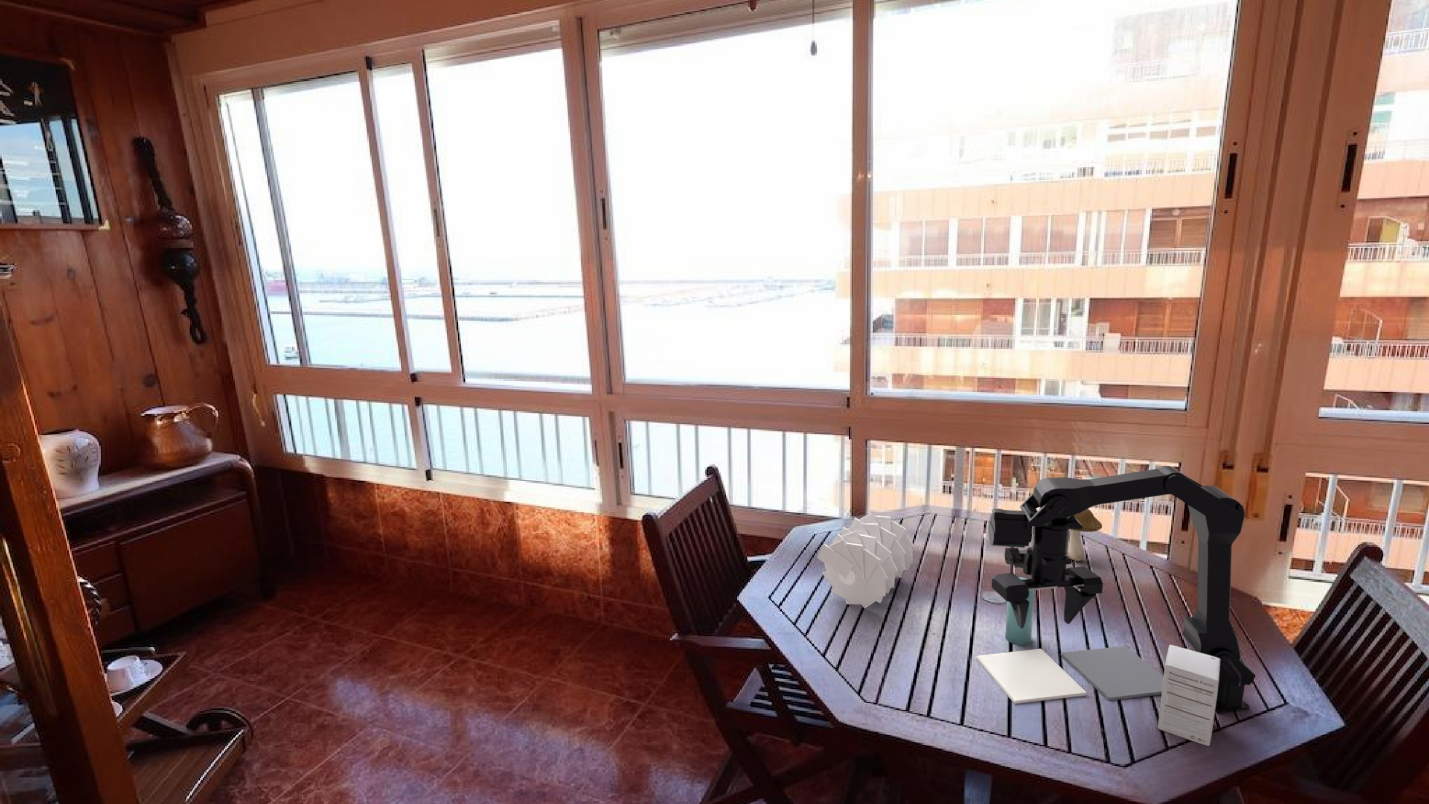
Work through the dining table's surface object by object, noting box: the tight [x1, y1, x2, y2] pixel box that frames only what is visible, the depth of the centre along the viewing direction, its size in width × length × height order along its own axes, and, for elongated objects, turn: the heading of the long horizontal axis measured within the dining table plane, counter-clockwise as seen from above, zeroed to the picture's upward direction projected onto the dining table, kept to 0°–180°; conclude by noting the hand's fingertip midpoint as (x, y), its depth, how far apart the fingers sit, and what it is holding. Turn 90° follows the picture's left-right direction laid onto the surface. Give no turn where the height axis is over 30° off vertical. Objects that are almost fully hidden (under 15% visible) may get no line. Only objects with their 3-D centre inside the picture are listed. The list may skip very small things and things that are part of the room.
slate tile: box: [1060, 645, 1164, 701], centre depth 127 cm, size 14×14×1 cm
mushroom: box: [1068, 508, 1103, 562], centre depth 172 cm, size 9×11×15 cm
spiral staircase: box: [816, 512, 915, 609], centre depth 161 cm, size 18×18×25 cm
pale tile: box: [975, 648, 1087, 704], centre depth 128 cm, size 14×14×1 cm
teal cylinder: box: [1004, 576, 1036, 647], centre depth 138 cm, size 5×5×13 cm
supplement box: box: [1157, 644, 1220, 747], centre depth 112 cm, size 7×7×13 cm
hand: (1043, 625), depth 123 cm, fingers open, 9 cm apart
